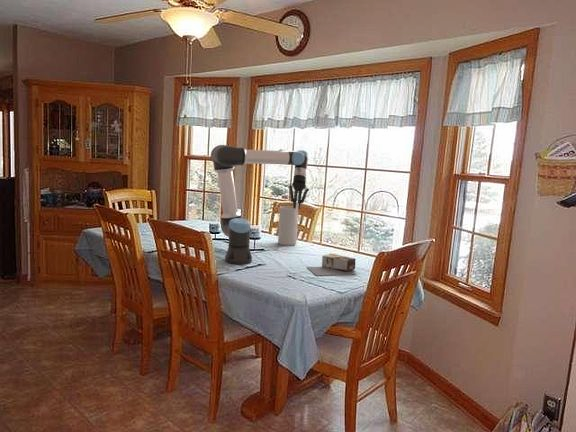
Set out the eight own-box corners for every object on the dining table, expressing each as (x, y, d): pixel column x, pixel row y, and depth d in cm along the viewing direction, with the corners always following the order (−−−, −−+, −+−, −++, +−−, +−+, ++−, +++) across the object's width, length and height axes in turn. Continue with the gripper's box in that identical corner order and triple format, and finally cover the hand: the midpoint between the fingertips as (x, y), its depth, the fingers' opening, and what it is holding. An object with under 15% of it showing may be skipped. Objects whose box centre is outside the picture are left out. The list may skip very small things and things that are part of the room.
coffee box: (321, 266, 245) (346, 272, 236) (322, 255, 244) (347, 261, 235) (330, 263, 253) (355, 269, 243) (331, 252, 252) (356, 258, 242)
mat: (316, 276, 228) (316, 275, 228) (306, 267, 243) (306, 266, 243) (355, 274, 234) (355, 274, 234) (343, 266, 249) (343, 265, 249)
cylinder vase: (297, 242, 306) (299, 206, 302) (294, 246, 294) (296, 209, 290) (279, 241, 308) (281, 205, 304) (276, 244, 296) (278, 207, 292)
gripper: (307, 179, 273) (303, 216, 269) (287, 175, 270) (283, 213, 266) (312, 176, 266) (308, 215, 262) (291, 172, 263) (287, 211, 259)
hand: (295, 214), depth 264 cm, fingers closed
